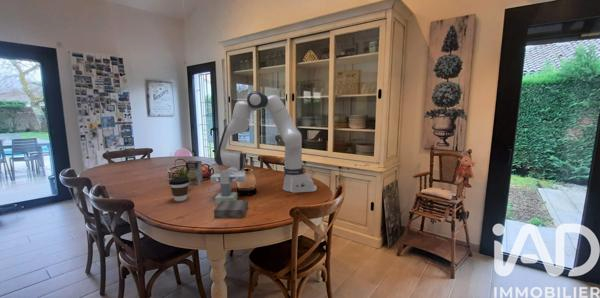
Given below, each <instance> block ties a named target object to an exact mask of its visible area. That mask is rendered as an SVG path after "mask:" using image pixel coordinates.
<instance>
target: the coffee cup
mask: <svg viewBox="0 0 600 298" xmlns="http://www.w3.org/2000/svg"><path fill="white" fill-rule="evenodd" d="M188 183H189V179H188V178H187V177H186V178H180V177H179V178H178V177H177V178H176V177H175V178H172V179H170V180H169V183H168V184H169V185H170V188H171V194H172V196H173V200H174V201H175V202H183V201H186V200H187V198H188V192H189V191H188Z"/></svg>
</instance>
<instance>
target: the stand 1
mask: <svg viewBox="0 0 600 298" xmlns="http://www.w3.org/2000/svg"><path fill="white" fill-rule="evenodd" d="M230 200H238V192H237V191H231V195H230V196H221V191H220V192H218V193H217V195H216V196H215V197H214V203H215V205H217V206H218V205H219V203H220V202H221V201H230Z"/></svg>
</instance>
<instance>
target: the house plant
mask: <svg viewBox="0 0 600 298" xmlns="http://www.w3.org/2000/svg"><path fill="white" fill-rule="evenodd" d="M173 170H174V171H173V172H175V174H176V175H172V176H173V179H175V178H188V176H189V175H188V173H189V172H190V171H191V170H190V171H189V172H188V173H187V168H186V167H185V166H184V167H183V166H180V169H179V172H178V171H176V169H173ZM186 173H187V174H186ZM187 175H188V176H187ZM190 175H191V174H190ZM188 179H189V178H188ZM189 189H190V185H189V183H188V192H189Z"/></svg>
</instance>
